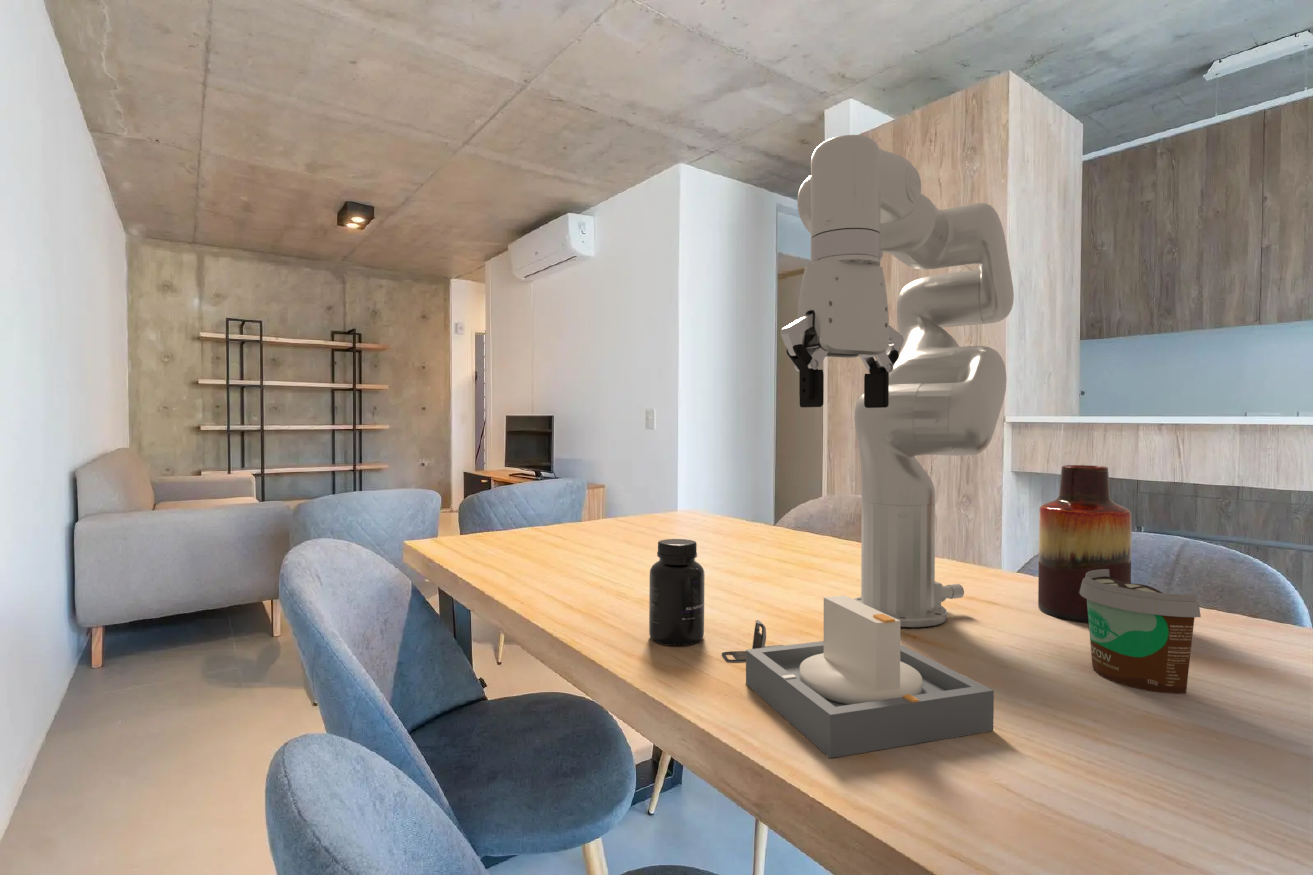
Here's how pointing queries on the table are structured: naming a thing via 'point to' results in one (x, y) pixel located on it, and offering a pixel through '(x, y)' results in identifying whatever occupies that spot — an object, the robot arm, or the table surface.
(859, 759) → the table surface
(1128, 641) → the food container
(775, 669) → the dial plate
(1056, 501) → the vase
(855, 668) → the dial
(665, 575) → the supplement bottle
